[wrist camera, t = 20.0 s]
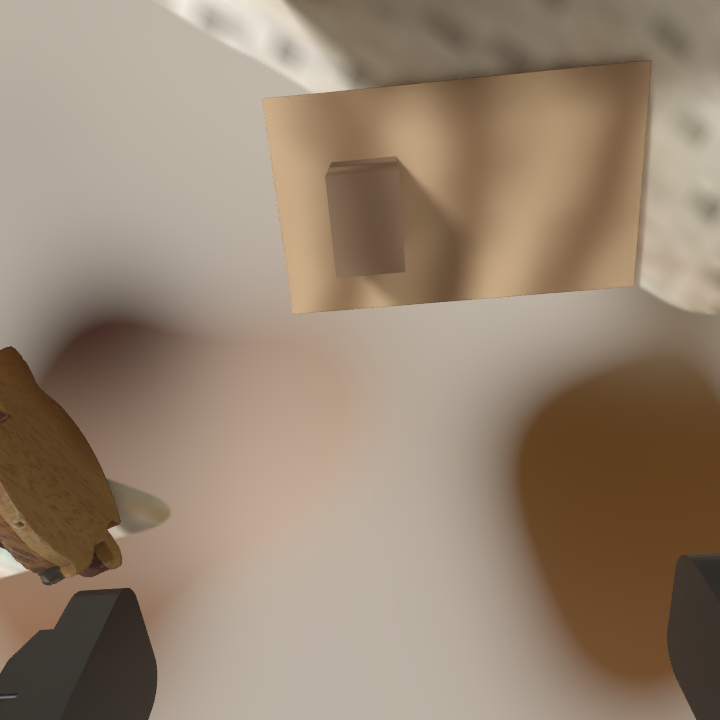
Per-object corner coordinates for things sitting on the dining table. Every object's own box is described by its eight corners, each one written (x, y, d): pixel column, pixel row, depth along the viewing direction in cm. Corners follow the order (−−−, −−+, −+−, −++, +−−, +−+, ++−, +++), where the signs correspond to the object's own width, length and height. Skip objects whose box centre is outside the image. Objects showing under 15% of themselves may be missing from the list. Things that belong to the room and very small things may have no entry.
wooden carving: (-44, 345, 41) (-161, 426, 32) (13, 315, 40) (-91, 389, 31) (111, 534, 47) (49, 647, 38) (164, 511, 46) (113, 621, 37)
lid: (295, 307, 40) (282, 346, 35) (265, 98, 36) (245, 104, 30) (626, 280, 39) (668, 316, 34) (642, 60, 34) (695, 59, 29)
